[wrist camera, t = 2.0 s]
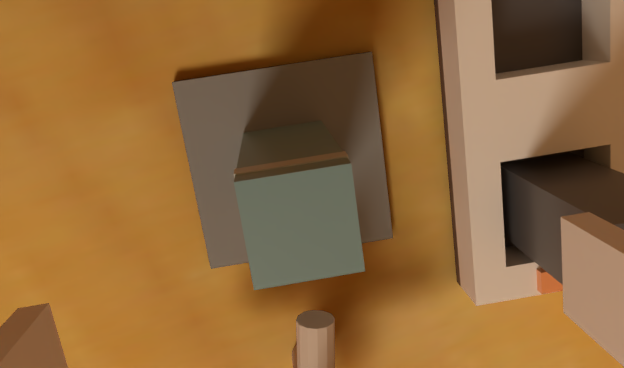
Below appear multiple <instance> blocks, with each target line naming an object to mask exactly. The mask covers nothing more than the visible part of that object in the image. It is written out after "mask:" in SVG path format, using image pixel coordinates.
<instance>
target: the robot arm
mask: <svg viewBox="0 0 624 368" xmlns="http://www.w3.org/2000/svg"><path fill="white" fill-rule="evenodd" d="M561 246H562V278H563V309H564V313H565V314H566V315H567V316H568V317H569V318H570V319H571V320H572V321H574V322H575V323H576V324H577V325H578V326H579V327H580V328H581V329H582V330H584V331H585V332H586V333H587V334H588V335H589V336H590V337H591V338H592V339H594V340H595V341H596V342H597V343H598V344H599V345H600V346H601V347H602V348H604V349H605V350H606V351H607V352H608V353H609V354H610V355H611V356H612V357H614V358H615V359H616V360H617V361H618V362H619V363H620V364H621V365H622V366H624V230H623V229H621V228H619V227H617V226H615V225H613V224H611V223H609V222H607V221H605V220H604V219H602V218H600V217H598V216H596V215H594V214H592V213H590V212H586V213H580V214H574V215H568V216H562V217H561ZM0 368H68V366H67V363H66V360H65V356H64V353H63V349H62V346H61V343H60V339H59V336H58V332H57V329H56V325H55V322H54V319H53V315H52V312H51V308H50V305H49V303H47V304H41V305H35V306H29V307H23V308H18V309H17V310H16V311H15V312H14V313H13V314H12V315H11V316H10V317H9V318H8V320H7V321H6V322H5V323H4V324H3V325H2V326H1V327H0Z"/></svg>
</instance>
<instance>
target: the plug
mask: <svg viewBox="0 0 624 368" xmlns="http://www.w3.org/2000/svg"><path fill="white" fill-rule="evenodd" d="M234 186H235V192H236V197H237V202H238V208H239V213H240V218H241V223H242V229H243V234H244V239H245V245H246V250H247V255H248V261H249V266H250V271H251V276H252V282H253V287H254V290H259V289H264V288H270V287H276V286H282V285H288V284H294V283H300V282H305V281H311V280H317V279H323V278H329V277H335V276H341V275H346V274H352V273H358V272H364V271H365V266H364V258H363V251H362V243H361V235H360V227H359V220H358V212H357V204H356V196H355V188H354V181H353V173H352V165H351V162H350V161H349V158H348V155H347V153H346V152H345V151H342V149H341V148H340V147H339V145H338V144H337V142H336V141H335V140H334V138H333V137H332V135H331V134H330V132H329V131H328V130H327V128H326V127H325V125H324V124H323V122H322V121H315V122H308V123H302V124H295V125H289V126H283V127H276V128H270V129H264V130H257V131H251V132H245V133H243V137H242V142H241V147H240V153H239V158H238V163H237V168H236V169H234Z"/></svg>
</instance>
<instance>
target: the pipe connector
mask: <svg viewBox="0 0 624 368" xmlns="http://www.w3.org/2000/svg"><path fill="white" fill-rule="evenodd" d="M296 332H297V345H296V346H295V347H294V349H293V351H292V361H293V368H335V318H334V317H333V315H332V314H331V313H328V312H325V311H320V310H311V311H306V312H303V313H302V314H300V315H298V317H297V320H296Z"/></svg>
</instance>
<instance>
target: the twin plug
mask: <svg viewBox="0 0 624 368" xmlns="http://www.w3.org/2000/svg"><path fill="white" fill-rule="evenodd" d="M500 166H501V184H502V202H503V220H504V237H505V238H506V239H507V240H509V241H510V242H511V243H512V244H514V245H515V246H516V247H517V248H518V249H520V250H521V251H522V252H523V253H524V254H526V255H527V256H528V257H529V258H530V259H532V260H533V261H534V262H535V263H537V264H538V265H539V266H540V267H541V268H543V269H544V270H545V271H546V272H547V273H549V274H550V275H551V276H552V277H553V278H555V279H556V280H557V281H558V282H560V283H561V284H562V285H563V278H562V246H561V217H562V216H568V215H574V214H580V213H586V212H590V213H592V214H594V215H596V216H598V217H600V218H602V219H604V220H605V221H607V222H609V223H611V224H613V225H615V226H617V227H619V228H621V229H623V230H624V173H622V172H619V171H616V170H614V169H611V168H608V167H606V166H603V165H600V164H598V163H595V162H592V161H590V160H587V159H585V158H582V157H579V156H577V155H574V154H571V153H565V154H559V155H553V156H547V157H541V158H534V159H528V160H522V161H516V162H510V163H504V164H500Z"/></svg>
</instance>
